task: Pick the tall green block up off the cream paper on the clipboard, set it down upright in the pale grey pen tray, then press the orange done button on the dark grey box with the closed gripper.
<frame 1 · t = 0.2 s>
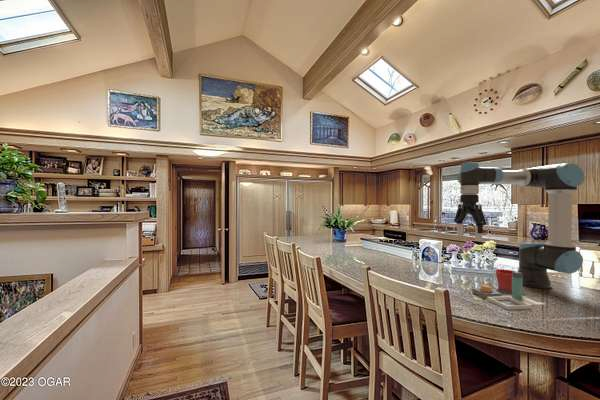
hand: (468, 238, 131), 27 cm above the kitchen island, fingers open, 13 cm apart
clipboard: (523, 301, 124), on the kitchen island
done button: (486, 290, 128), point 3 cm above the kitchen island, slide at 0.0 cm
button box: (486, 297, 128), on the kitchen island
pen tray: (508, 306, 117), on the kitchen island
flower pot: (508, 291, 138), on the kitchen island
tall green block: (517, 298, 124), point 1 cm above the kitchen island, touching clipboard
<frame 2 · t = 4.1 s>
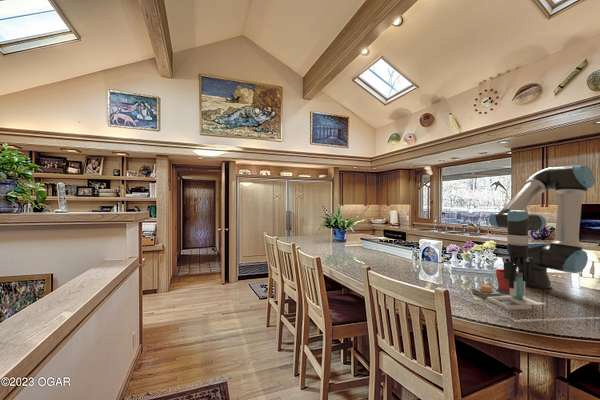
hand: (517, 294, 124), 3 cm above the kitchen island, fingers closed on tall green block, 4 cm apart
tall green block: (517, 297, 124), point 1 cm above the kitchen island, touching gripper
everything else where it was.
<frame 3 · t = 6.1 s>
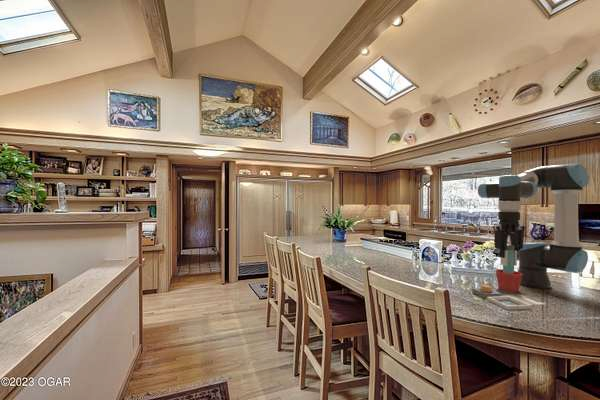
hand: (508, 264, 117), 18 cm above the kitchen island, fingers closed on tall green block, 4 cm apart
tall green block: (508, 272, 117), point 15 cm above the kitchen island, touching gripper
everything else where it was.
when the fingers open (4 cm above the kitchen island, at t = 8.7 s): tall green block stays where it is, resting on pen tray.
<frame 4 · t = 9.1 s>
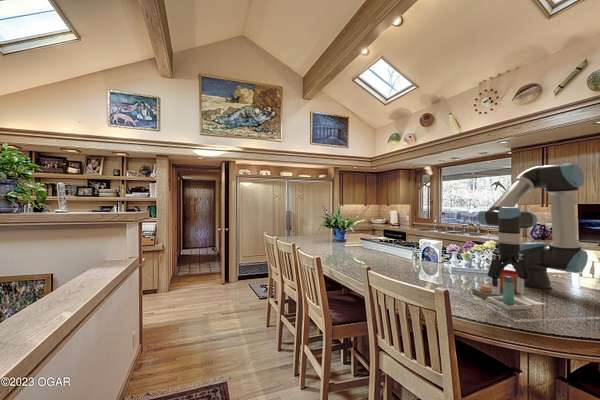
hand: (508, 293, 117), 5 cm above the kitchen island, fingers open, 10 cm apart
tall green block: (508, 304, 117), point 1 cm above the kitchen island, touching pen tray
everything else where it was.
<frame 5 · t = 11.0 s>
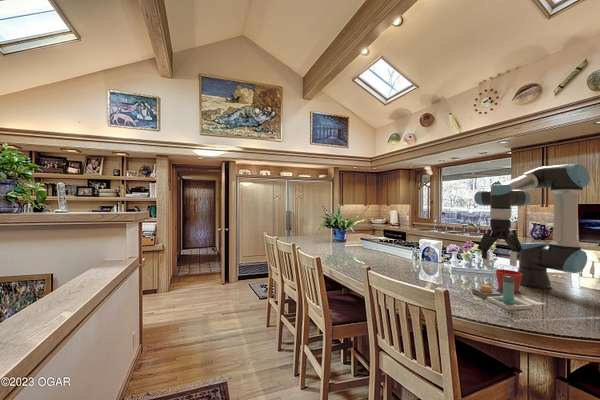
hand: (499, 266, 122), 16 cm above the kitchen island, fingers open, 13 cm apart
nothing on the kitchen island moved.
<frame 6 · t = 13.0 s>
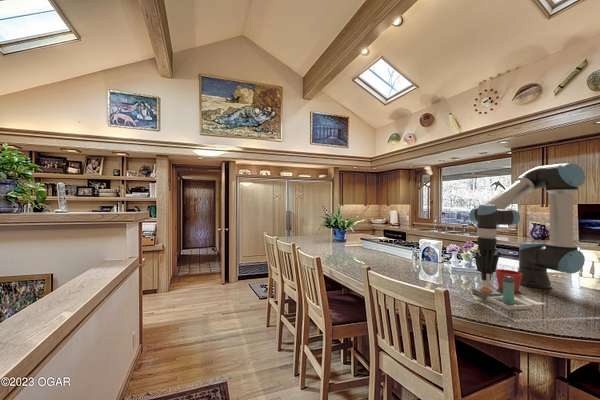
hand: (486, 287, 128), 5 cm above the kitchen island, fingers closed
done button: (486, 291, 128), point 3 cm above the kitchen island, slide at 0.5 cm, touching gripper
everything else where it was.
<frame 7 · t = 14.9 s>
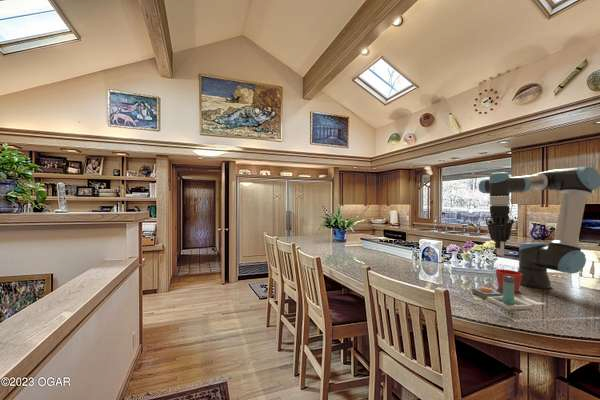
hand: (500, 255, 128), 20 cm above the kitchen island, fingers closed
done button: (486, 292, 128), point 2 cm above the kitchen island, slide at 0.9 cm
everything else where it was.
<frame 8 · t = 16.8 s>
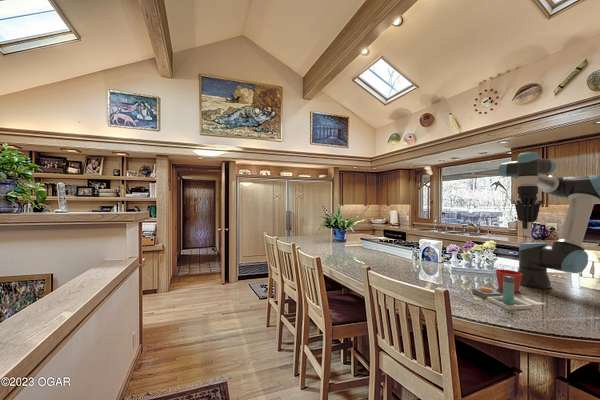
hand: (527, 235, 127), 29 cm above the kitchen island, fingers closed
nothing on the kitchen island moved.
at the end: tall green block inside the target area on the pen tray (0.0 cm from its centre), point 0.6 cm above the pen tray's base; tall green block tilted 0°; done button slide at 0.9 cm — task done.
